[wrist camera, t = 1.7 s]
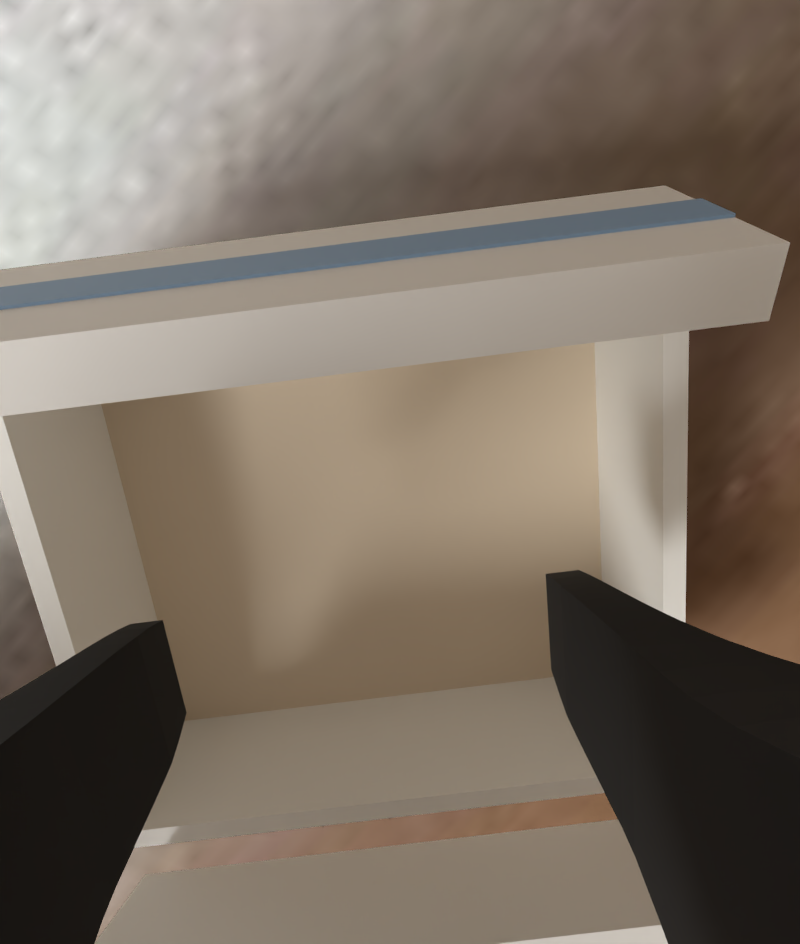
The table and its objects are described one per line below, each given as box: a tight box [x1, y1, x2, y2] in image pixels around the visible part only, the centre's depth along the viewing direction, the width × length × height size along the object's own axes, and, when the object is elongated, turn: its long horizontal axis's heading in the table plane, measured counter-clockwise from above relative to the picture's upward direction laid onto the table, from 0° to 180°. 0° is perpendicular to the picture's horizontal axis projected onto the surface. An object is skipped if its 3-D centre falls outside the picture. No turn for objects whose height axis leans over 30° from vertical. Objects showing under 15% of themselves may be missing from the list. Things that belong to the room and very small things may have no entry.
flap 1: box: [0, 185, 790, 416], centre depth 9 cm, size 12×4×1 cm
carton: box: [0, 331, 689, 848], centre depth 15 cm, size 14×12×4 cm
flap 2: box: [94, 820, 668, 944], centre depth 13 cm, size 12×4×1 cm
